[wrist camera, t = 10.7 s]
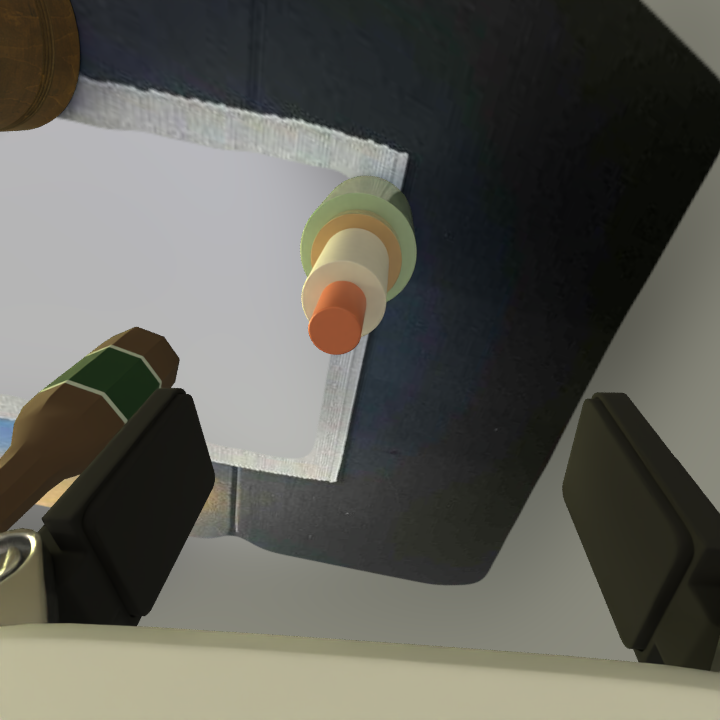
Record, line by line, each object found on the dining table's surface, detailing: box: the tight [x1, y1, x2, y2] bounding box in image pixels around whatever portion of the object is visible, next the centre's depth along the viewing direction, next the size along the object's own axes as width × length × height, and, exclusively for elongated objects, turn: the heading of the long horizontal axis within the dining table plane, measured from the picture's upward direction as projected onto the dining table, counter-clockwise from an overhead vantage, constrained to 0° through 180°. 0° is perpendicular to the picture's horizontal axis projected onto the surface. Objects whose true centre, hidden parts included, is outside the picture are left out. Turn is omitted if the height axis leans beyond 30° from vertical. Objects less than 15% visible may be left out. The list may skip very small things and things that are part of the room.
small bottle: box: [301, 228, 389, 355], centre depth 24 cm, size 4×4×10 cm
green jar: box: [300, 176, 417, 302], centre depth 33 cm, size 8×8×10 cm
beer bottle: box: [0, 327, 179, 533], centre depth 36 cm, size 8×8×24 cm
